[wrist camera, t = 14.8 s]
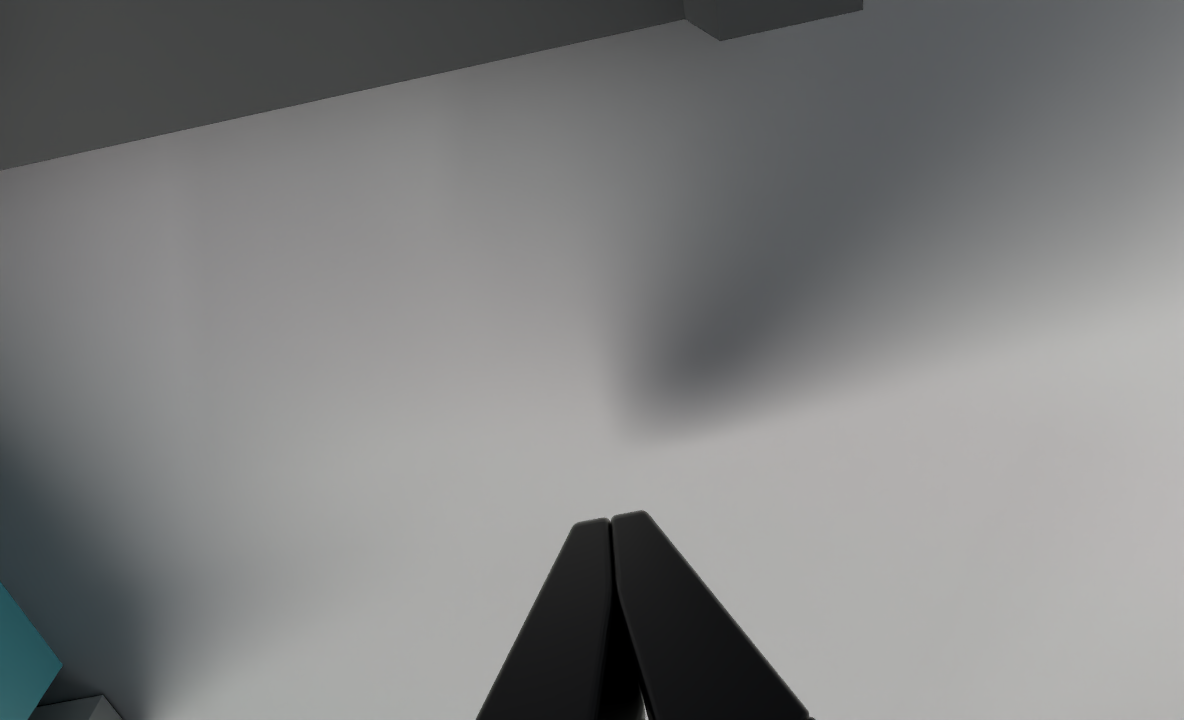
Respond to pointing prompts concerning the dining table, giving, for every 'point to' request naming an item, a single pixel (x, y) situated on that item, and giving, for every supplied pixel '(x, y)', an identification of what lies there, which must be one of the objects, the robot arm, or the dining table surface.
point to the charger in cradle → (285, 54)
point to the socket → (77, 710)
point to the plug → (22, 662)
